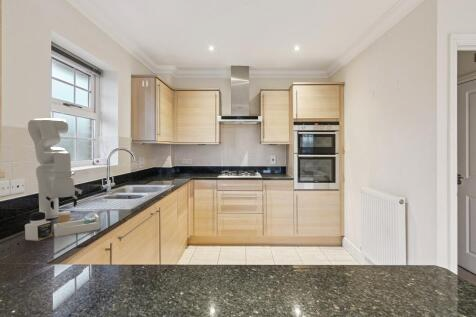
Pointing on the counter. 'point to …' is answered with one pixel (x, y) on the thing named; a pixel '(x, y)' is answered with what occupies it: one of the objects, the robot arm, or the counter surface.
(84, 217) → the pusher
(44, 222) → the medicine bottle
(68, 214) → the jar
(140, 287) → the counter surface
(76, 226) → the lane
